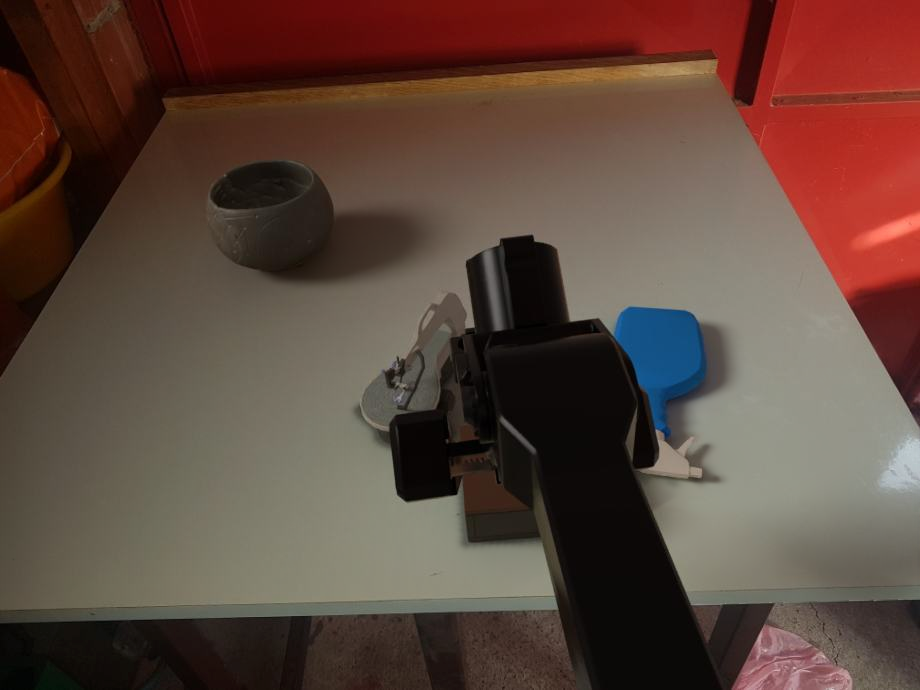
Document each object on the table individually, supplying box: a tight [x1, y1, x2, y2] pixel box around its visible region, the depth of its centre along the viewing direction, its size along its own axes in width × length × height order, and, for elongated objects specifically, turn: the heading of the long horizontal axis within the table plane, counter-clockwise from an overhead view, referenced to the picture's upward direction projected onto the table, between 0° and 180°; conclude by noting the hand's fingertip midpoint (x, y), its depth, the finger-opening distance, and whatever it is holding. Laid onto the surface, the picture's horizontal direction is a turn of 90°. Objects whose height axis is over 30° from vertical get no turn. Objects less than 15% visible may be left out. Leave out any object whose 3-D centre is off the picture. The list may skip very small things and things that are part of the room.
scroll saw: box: [358, 290, 468, 445], centre depth 80 cm, size 20×11×12 cm
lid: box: [458, 424, 531, 516], centre depth 67 cm, size 10×13×5 cm
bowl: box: [205, 158, 335, 272], centre depth 102 cm, size 18×18×13 cm
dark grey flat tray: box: [464, 510, 541, 543], centre depth 70 cm, size 10×13×5 cm
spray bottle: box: [613, 305, 707, 479], centre depth 80 cm, size 3×11×24 cm
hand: (513, 454), depth 58 cm, fingers open, 9 cm apart
